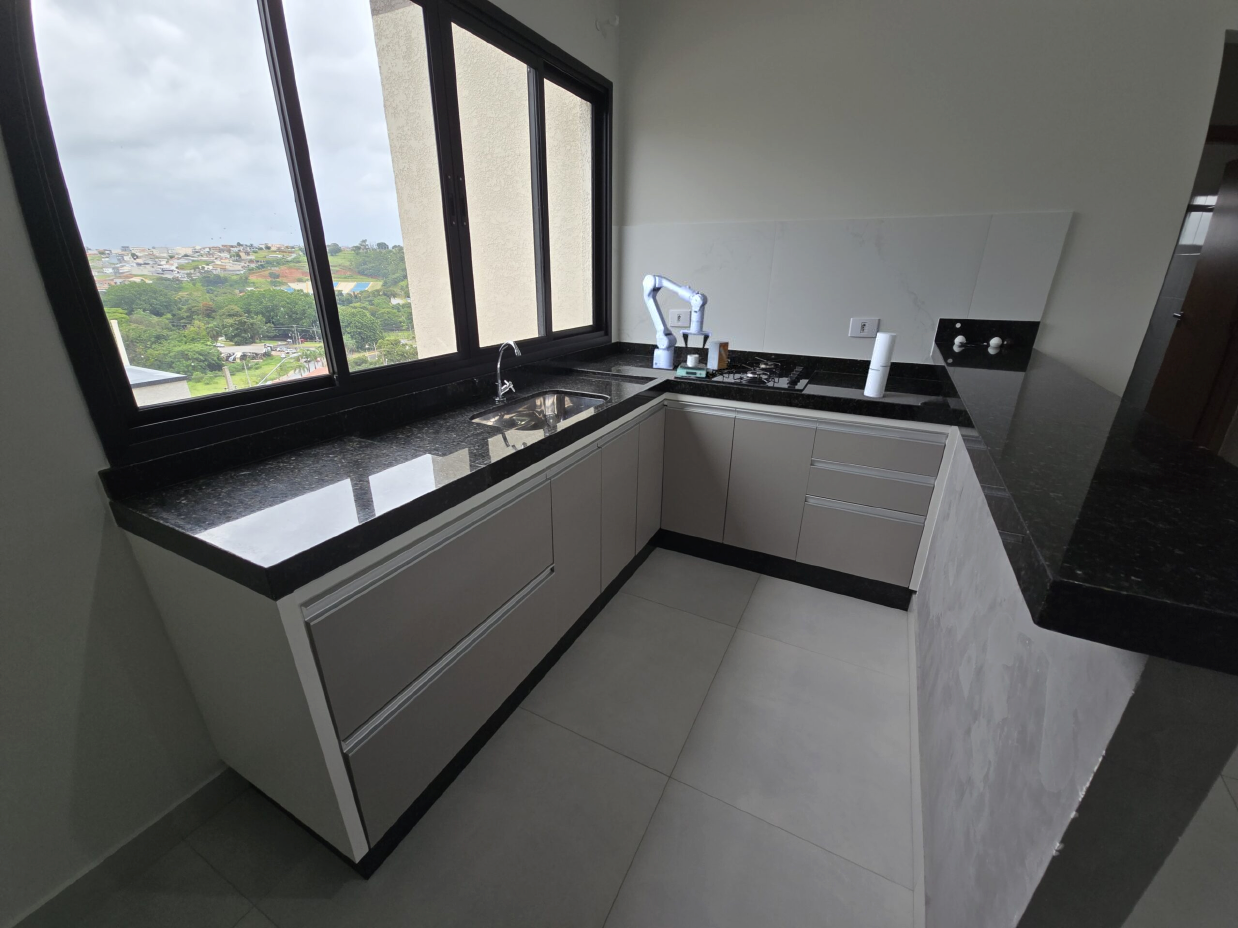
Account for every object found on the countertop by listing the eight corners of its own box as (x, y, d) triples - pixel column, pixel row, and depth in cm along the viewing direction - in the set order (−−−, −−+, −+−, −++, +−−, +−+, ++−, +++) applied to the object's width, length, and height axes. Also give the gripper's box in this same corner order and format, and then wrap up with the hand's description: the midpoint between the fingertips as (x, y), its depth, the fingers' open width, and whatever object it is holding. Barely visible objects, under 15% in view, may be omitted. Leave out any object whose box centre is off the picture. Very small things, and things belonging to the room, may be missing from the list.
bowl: (686, 365, 234) (687, 356, 232) (687, 363, 239) (688, 354, 237) (697, 366, 233) (698, 356, 231) (698, 364, 238) (699, 355, 236)
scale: (676, 375, 233) (677, 369, 232) (679, 370, 244) (679, 365, 243) (705, 377, 231) (705, 371, 230) (706, 372, 241) (706, 367, 240)
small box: (717, 370, 249) (719, 343, 244) (706, 368, 253) (708, 341, 249) (726, 368, 254) (729, 341, 250) (716, 366, 258) (718, 340, 254)
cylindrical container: (884, 398, 205) (899, 335, 196) (866, 396, 206) (880, 333, 197) (880, 394, 211) (894, 333, 202) (862, 392, 213) (875, 331, 204)
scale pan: (679, 368, 233) (679, 366, 233) (681, 364, 241) (681, 362, 241) (703, 369, 231) (703, 367, 231) (704, 366, 239) (704, 364, 239)
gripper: (680, 321, 232) (678, 350, 237) (712, 323, 229) (709, 353, 234) (682, 319, 238) (679, 348, 243) (713, 321, 235) (710, 351, 240)
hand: (694, 350), depth 239 cm, fingers open, 7 cm apart
